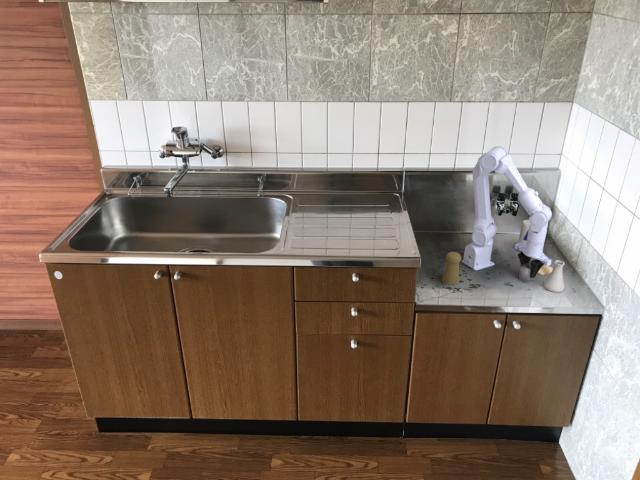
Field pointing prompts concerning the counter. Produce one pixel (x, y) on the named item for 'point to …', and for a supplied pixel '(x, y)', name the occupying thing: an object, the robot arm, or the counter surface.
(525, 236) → the energy drink
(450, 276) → the pepper shaker
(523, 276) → the plug
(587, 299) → the counter surface
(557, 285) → the flask
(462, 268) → the counter surface
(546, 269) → the coaster
